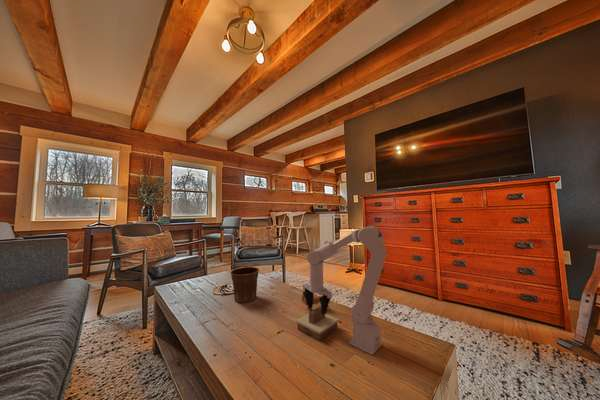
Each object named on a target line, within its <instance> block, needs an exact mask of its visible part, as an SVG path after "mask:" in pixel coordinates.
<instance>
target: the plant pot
mask: <svg viewBox="0 0 600 400" xmlns="http://www.w3.org/2000/svg"><path fill="white" fill-rule="evenodd" d="M259 272H260V269H259V268H258V267H254V266H245V267H238V268H235V269H232V270H231V271H230V276H231V281H232V289H233V298H234V301H235V302H236V303H239V304H245V303H250V302H253V301H254V300H255V299H256V298H257V291H258V290H257V288H258V277H259Z"/></svg>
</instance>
